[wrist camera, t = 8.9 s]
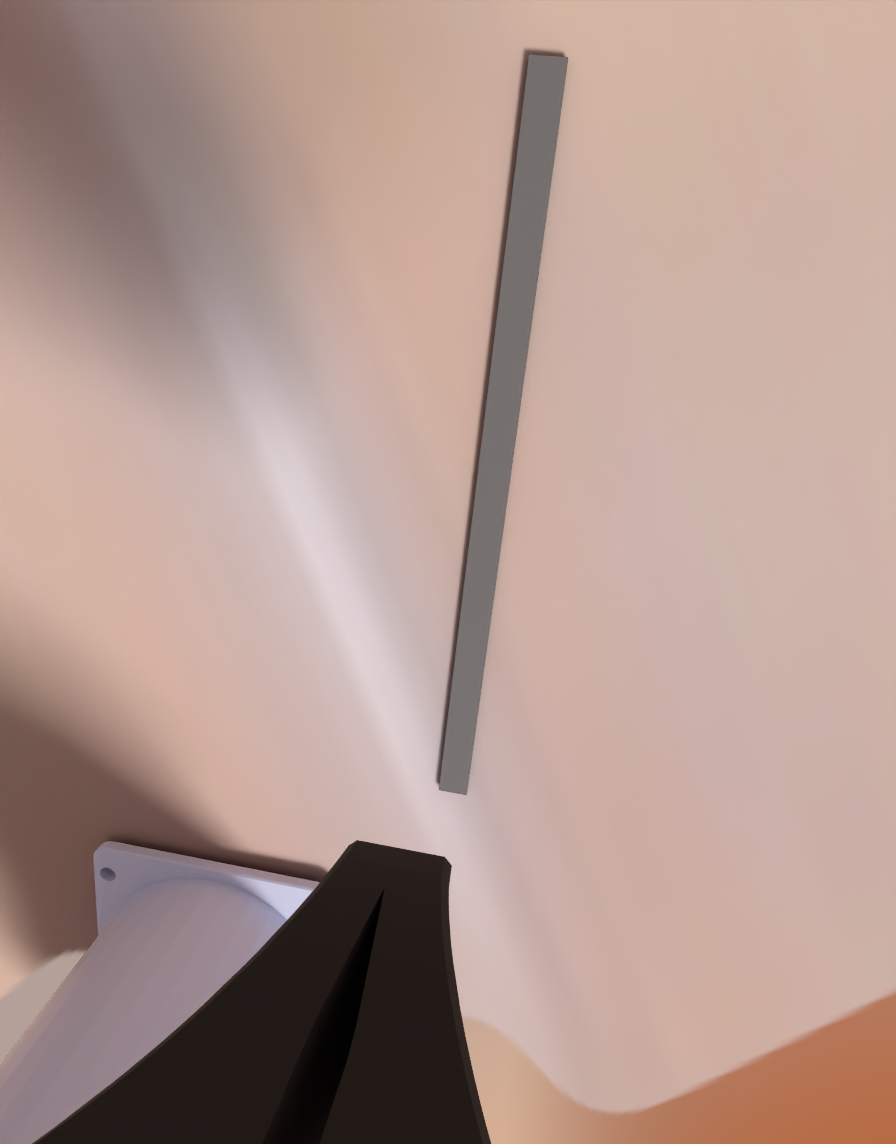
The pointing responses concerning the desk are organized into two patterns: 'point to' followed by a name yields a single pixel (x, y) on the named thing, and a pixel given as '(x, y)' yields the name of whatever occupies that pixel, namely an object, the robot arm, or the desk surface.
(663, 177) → the desk surface
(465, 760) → the long thin gray rod
